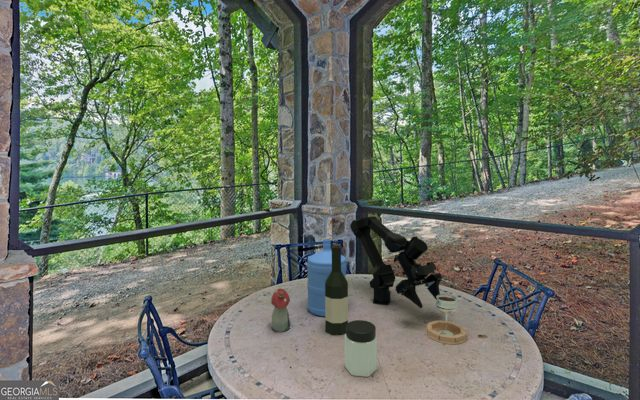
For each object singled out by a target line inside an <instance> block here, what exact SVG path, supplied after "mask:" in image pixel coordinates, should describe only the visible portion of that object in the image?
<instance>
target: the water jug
mask: <svg viewBox="0 0 640 400" xmlns="http://www.w3.org/2000/svg"><path fill="white" fill-rule="evenodd" d="M331 245H332V244H331V239H322V250H320V251H317V252H316V253H314V254H312V255H309V256H308V258H307V265H306V266H307V268H306V269H307V310H308V312H310V313H311V314H312V315H315V316H318V317H325V281H326V279H327V278H328V276H329V274H330V273H331V271H332V246H331ZM347 266H348V265H347V258H346V257H345V255H342V254H341V271H342V273H343V275H344V276H345V277H346V276H347Z"/></svg>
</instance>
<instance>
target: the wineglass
mask: <svg viewBox="0 0 640 400" xmlns="http://www.w3.org/2000/svg"><path fill="white" fill-rule="evenodd" d="M436 298H437V300H436V299H435V306H436V308H437V309H438V310H439V311H440V312H441V313H443V314H444V318H445V320H444V321H445V327H446V329H440V330H439V331H438V332H439V333H440V334H443V335H451V336H453V335H454V333H453V332H452V331H450V330H447V321H448V316H449V314H453V313H454V312H455V311H457V309H458V306H459V305H458V297H456V296H454V295H453V294H452V295H451V294H447V293H446V294H443V293H442V294H441V293H440V295H437V296H436Z"/></svg>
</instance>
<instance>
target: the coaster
mask: <svg viewBox="0 0 640 400" xmlns="http://www.w3.org/2000/svg"><path fill="white" fill-rule="evenodd" d="M440 329H446V327H445V320H433V321H430V322H427V323H426V328H425V334H426V336H427V337H428V338H429V339H431V340H432V341H435V342H437V343H440V344H444V345H445V344H446V345H461V344H464V343H466V342H467V340H468V334H467V332H466V328H465V327H464V326H462V325H459V324H457V323H456V322H452V321H450V320H449V321H448V320H447V330H450V331H452V332H453V333H454V335H453V336H451V335H443V334H440V333H439V332H438V331H439V330H440Z"/></svg>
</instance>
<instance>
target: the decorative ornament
mask: <svg viewBox="0 0 640 400" xmlns="http://www.w3.org/2000/svg"><path fill="white" fill-rule="evenodd" d="M270 300H271V301H270V303H271V305H272V306H273V307H274V308H273V310H272V314H271V327H272V330H274V331H275V332H281V333H282V332H287V331H288V330H289V329H290V328H291V319H290V315H289V310H288V307H287V306H288V305H289V303H290V302H291V299H290V295H289V293H288V292H287V290H285V289H284V288H278V289H277V290H275V291H274V292H273V294H272V297H271V299H270Z"/></svg>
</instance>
